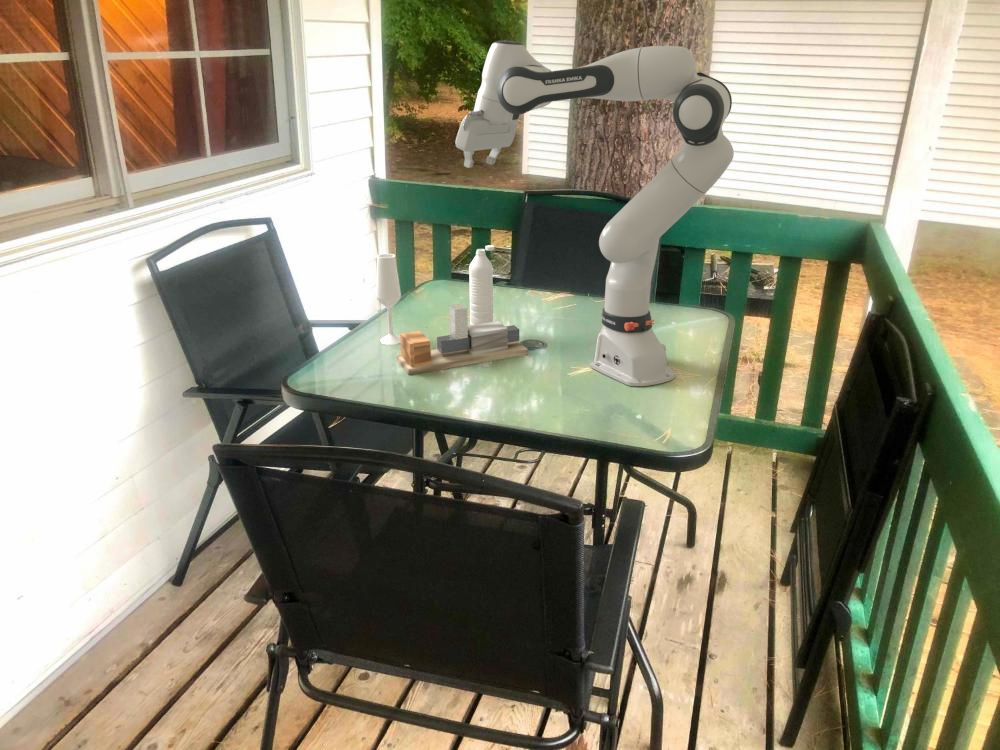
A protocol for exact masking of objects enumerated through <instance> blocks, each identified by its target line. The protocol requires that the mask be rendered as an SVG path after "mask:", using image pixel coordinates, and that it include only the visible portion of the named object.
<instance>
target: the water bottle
mask: <svg viewBox="0 0 1000 750" xmlns="http://www.w3.org/2000/svg"><path fill="white" fill-rule="evenodd" d="M484 247H485V248H477V249H476V252H475V256H474V257H473V259H472V261H471V262H470V263H469V266H468V275H469V276H468V277H469V278H468V279H469V280H468V281H469V283H468V284H469V285H468V287H469V297H468V298H469V320H470V321H469V326H470V325H476V324H483V323H490V322H494V309H493V308H494V293H493V292H494V287H493V286H494V283H493V280H494V278H493V277H494V276H493V274H494V269H493V268H494V267H493V264H492V262H491V260H490V259H489V257H487V255H486V251H487V252H488V251H490V252H491V251H495V245H492V244H490V245H489V244H488V245H485V246H484Z"/></svg>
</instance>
